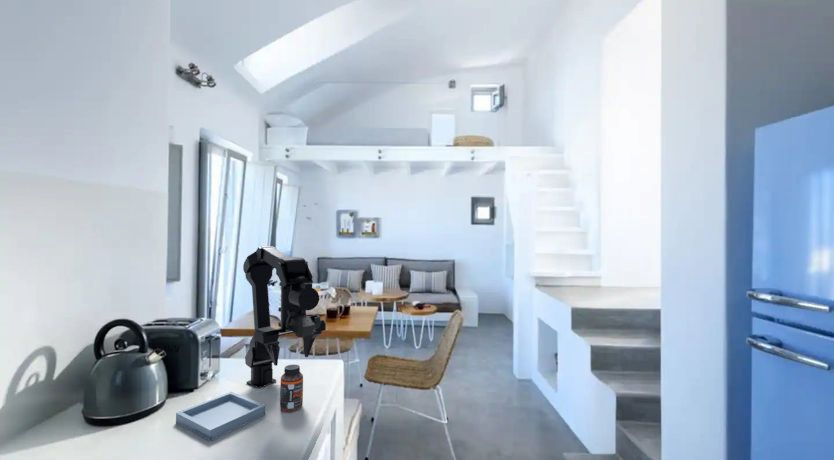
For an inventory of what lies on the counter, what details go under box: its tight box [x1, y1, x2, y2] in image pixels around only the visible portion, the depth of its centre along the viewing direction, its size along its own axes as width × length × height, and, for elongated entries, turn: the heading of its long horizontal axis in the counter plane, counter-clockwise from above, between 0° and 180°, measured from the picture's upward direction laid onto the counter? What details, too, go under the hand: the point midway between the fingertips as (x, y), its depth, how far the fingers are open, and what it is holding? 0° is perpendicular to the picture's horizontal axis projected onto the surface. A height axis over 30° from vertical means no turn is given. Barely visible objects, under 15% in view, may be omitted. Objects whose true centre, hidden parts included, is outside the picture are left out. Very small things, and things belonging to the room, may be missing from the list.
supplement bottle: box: [279, 364, 304, 413], centre depth 108 cm, size 6×6×11 cm
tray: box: [175, 391, 266, 442], centre depth 102 cm, size 15×15×2 cm
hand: (291, 361), depth 108 cm, fingers open, 9 cm apart
